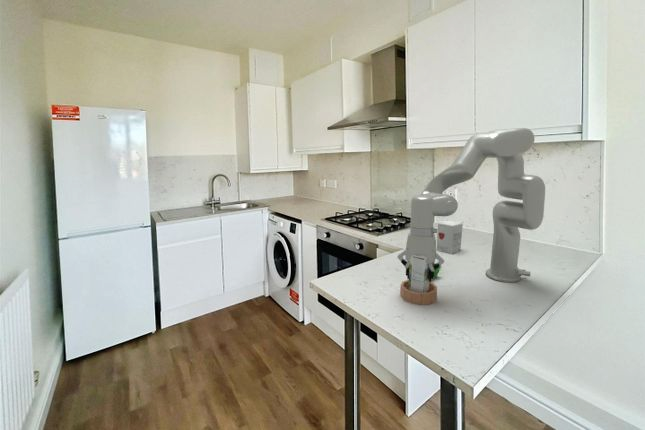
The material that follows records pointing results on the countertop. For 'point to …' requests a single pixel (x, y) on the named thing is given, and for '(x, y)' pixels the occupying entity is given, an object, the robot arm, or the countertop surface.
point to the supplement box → (449, 236)
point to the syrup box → (418, 274)
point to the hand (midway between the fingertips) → (419, 278)
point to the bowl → (418, 294)
